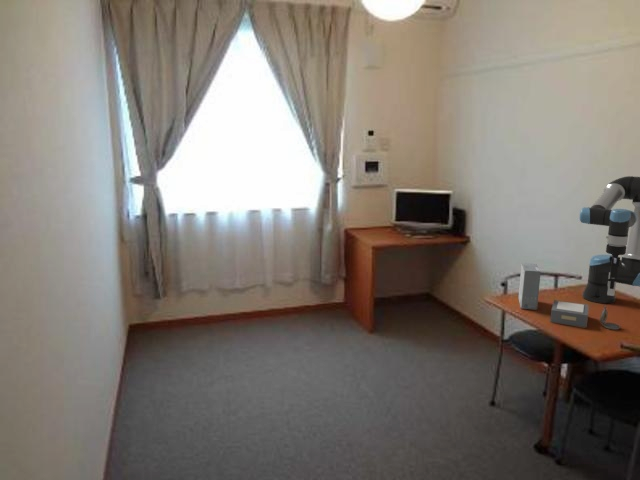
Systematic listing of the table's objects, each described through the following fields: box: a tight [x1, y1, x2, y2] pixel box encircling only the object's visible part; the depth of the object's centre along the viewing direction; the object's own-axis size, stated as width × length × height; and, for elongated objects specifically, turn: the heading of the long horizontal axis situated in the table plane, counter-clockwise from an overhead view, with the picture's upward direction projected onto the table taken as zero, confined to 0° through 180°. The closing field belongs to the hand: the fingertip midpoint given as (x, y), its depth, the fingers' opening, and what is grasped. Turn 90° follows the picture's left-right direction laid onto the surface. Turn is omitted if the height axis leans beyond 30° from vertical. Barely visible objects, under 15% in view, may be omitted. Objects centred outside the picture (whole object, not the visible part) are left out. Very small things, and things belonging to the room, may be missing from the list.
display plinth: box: [549, 299, 590, 329], centre depth 236 cm, size 15×15×6 cm
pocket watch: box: [599, 304, 621, 331], centre depth 227 cm, size 8×8×10 cm
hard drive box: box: [518, 262, 542, 311], centre depth 255 cm, size 16×8×20 cm, turn 164°
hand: (610, 290), depth 225 cm, fingers open, 13 cm apart
